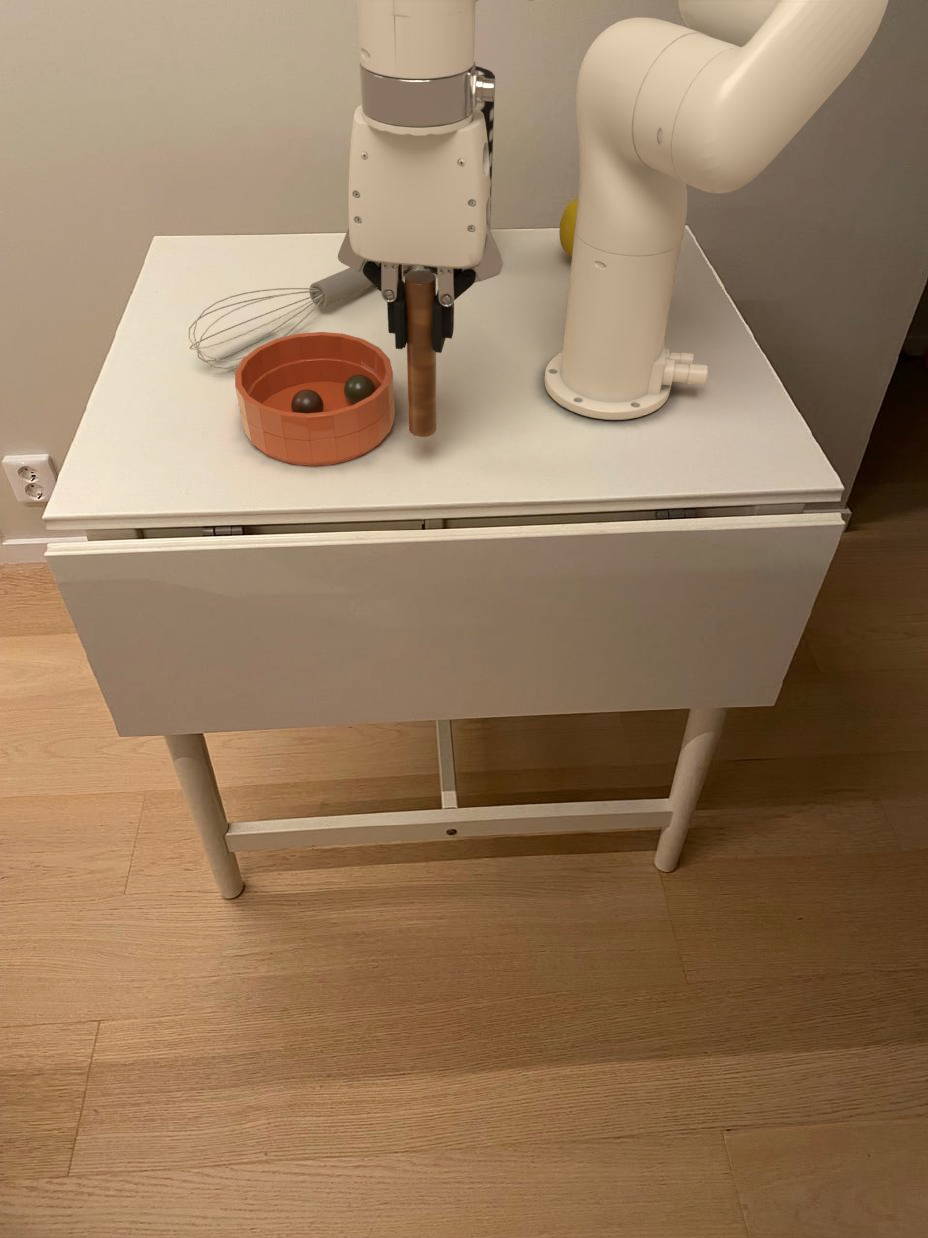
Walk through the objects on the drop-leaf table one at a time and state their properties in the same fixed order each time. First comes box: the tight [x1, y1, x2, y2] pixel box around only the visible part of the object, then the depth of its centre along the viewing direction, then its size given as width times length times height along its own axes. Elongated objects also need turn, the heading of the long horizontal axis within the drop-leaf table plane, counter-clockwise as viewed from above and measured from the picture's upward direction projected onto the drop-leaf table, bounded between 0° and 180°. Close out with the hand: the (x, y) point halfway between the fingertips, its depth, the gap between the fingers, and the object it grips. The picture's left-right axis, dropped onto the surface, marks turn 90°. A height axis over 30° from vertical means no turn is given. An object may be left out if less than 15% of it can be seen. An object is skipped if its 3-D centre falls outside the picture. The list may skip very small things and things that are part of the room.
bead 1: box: [291, 389, 324, 413], centre depth 86 cm, size 3×3×3 cm
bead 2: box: [344, 374, 375, 405], centre depth 88 cm, size 3×3×3 cm
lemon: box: [558, 197, 578, 258], centre depth 109 cm, size 6×6×8 cm
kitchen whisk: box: [187, 265, 412, 370], centre depth 100 cm, size 6×34×6 cm, turn 142°
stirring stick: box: [404, 269, 437, 438], centre depth 76 cm, size 2×2×14 cm
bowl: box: [234, 331, 396, 467], centre depth 86 cm, size 14×14×6 cm
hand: (421, 340), depth 75 cm, fingers closed on stirring stick, 2 cm apart
